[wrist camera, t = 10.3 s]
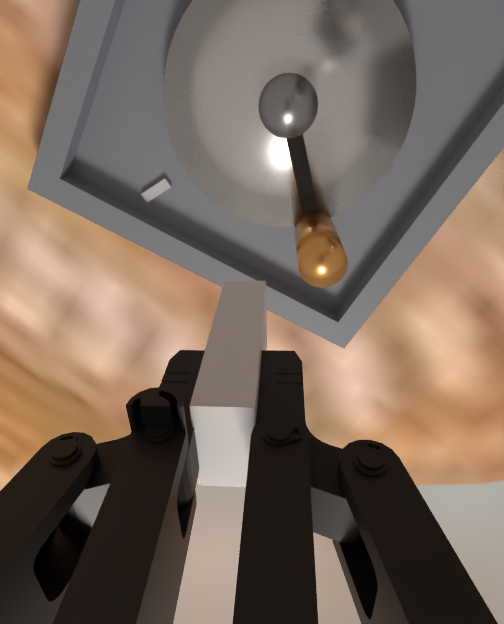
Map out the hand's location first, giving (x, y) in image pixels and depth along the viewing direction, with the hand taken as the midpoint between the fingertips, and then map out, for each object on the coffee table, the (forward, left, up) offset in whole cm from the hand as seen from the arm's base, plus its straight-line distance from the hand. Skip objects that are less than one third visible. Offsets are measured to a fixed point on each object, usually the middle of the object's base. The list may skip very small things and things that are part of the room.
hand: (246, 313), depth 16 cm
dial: (-6, -1, -12) cm, 14 cm away
